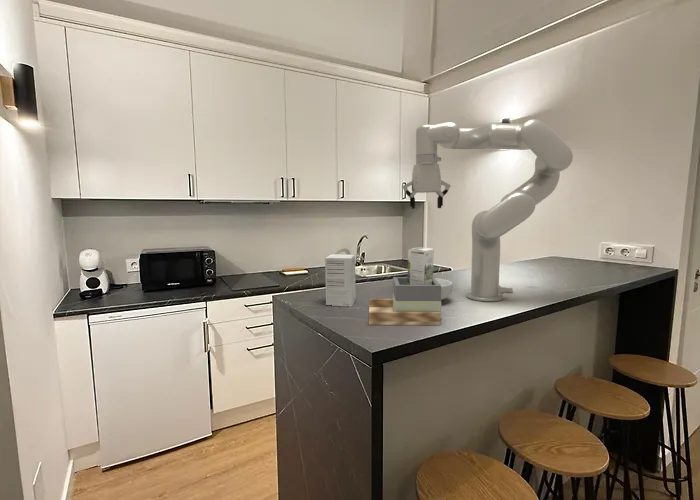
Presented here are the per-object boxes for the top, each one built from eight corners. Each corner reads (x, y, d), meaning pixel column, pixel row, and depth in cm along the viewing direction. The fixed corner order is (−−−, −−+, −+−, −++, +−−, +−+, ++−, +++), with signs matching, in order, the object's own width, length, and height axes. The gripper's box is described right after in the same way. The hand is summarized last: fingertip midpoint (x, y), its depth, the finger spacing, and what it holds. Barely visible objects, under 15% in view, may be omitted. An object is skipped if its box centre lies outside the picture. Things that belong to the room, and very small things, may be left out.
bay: (430, 309, 118) (430, 298, 118) (439, 325, 102) (439, 313, 102) (369, 309, 120) (369, 298, 119) (368, 324, 104) (368, 312, 103)
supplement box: (331, 299, 134) (330, 253, 132) (356, 299, 132) (355, 254, 130) (325, 306, 124) (324, 257, 122) (351, 307, 123) (351, 257, 121)
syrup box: (416, 292, 114) (416, 246, 113) (433, 295, 110) (433, 247, 109) (406, 296, 110) (407, 248, 108) (424, 299, 106) (424, 249, 104)
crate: (433, 306, 117) (433, 277, 116) (441, 318, 104) (441, 285, 103) (392, 306, 118) (392, 277, 116) (395, 318, 105) (395, 285, 104)
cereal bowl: (454, 307, 120) (454, 286, 120) (403, 305, 124) (403, 285, 123) (450, 295, 137) (450, 277, 136) (406, 294, 140) (406, 276, 139)
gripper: (447, 161, 135) (447, 208, 137) (401, 162, 135) (401, 208, 137) (453, 159, 128) (452, 207, 130) (404, 160, 128) (404, 208, 130)
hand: (426, 208), depth 133 cm, fingers open, 9 cm apart
